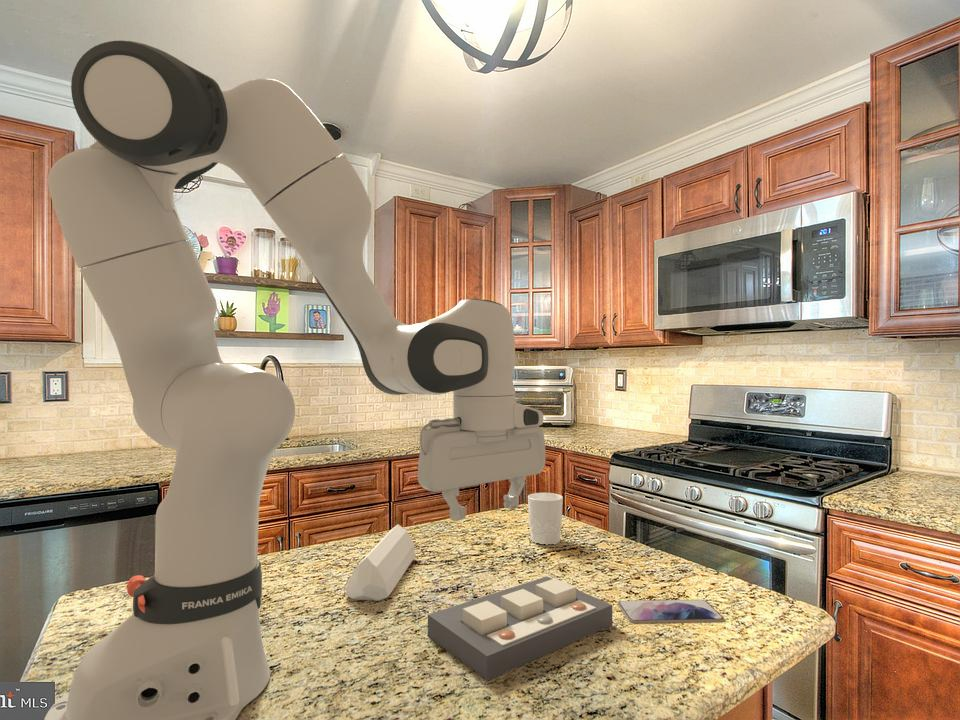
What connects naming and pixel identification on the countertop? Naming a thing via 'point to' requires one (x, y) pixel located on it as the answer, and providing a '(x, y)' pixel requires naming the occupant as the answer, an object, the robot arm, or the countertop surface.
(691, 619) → the smartphone
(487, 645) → the button board
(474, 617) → the button left
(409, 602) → the countertop surface
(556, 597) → the button right
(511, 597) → the button middle
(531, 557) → the countertop surface
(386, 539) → the beige chamfered bar
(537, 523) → the white cup
